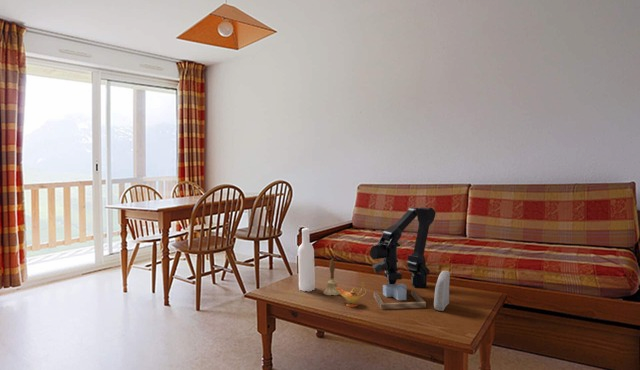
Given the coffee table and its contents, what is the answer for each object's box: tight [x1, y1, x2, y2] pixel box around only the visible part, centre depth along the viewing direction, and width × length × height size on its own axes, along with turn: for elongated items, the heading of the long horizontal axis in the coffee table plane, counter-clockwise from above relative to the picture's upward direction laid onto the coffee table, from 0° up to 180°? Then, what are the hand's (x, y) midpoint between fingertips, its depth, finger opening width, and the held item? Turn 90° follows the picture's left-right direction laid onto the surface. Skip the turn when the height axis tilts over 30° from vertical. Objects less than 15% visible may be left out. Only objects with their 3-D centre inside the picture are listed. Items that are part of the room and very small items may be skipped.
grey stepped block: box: [382, 282, 407, 302], centre depth 174 cm, size 10×10×4 cm
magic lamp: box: [332, 281, 367, 308], centre depth 166 cm, size 7×18×11 cm, turn 50°
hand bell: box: [323, 259, 341, 296], centre depth 182 cm, size 8×8×16 cm
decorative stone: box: [433, 270, 451, 312], centre depth 160 cm, size 11×6×15 cm, turn 151°
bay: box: [373, 290, 427, 310], centre depth 167 cm, size 19×16×2 cm
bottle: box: [297, 227, 316, 292], centre depth 188 cm, size 8×8×30 cm
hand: (391, 289), depth 181 cm, fingers closed
